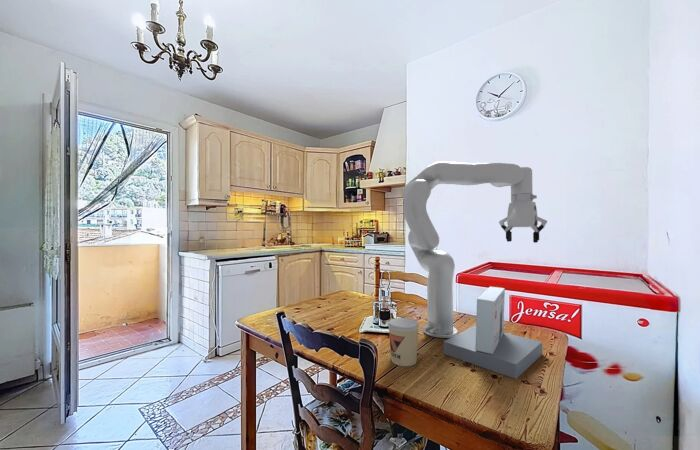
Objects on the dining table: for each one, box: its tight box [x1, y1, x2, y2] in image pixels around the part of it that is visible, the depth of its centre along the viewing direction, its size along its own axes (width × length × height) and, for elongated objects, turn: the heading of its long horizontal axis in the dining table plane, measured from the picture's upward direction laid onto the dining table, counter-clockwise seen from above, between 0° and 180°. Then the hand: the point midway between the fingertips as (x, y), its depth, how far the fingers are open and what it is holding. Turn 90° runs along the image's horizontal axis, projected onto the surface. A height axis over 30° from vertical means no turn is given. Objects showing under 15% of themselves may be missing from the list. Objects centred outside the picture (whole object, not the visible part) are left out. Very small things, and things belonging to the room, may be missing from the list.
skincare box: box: [475, 286, 506, 354], centre depth 98 cm, size 21×6×16 cm, turn 145°
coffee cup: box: [388, 317, 420, 367], centre depth 95 cm, size 9×9×12 cm
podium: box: [442, 324, 543, 380], centre depth 98 cm, size 22×22×4 cm
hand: (522, 241), depth 121 cm, fingers open, 9 cm apart
